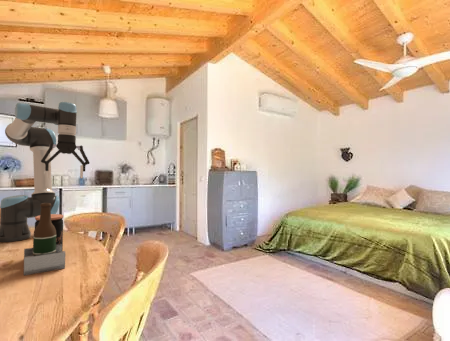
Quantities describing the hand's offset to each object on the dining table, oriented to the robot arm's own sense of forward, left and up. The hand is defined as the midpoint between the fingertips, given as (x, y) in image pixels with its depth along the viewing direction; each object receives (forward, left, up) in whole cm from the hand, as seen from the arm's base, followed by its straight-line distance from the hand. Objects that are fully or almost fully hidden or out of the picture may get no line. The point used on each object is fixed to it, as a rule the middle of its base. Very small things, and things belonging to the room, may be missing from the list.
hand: (65, 178), depth 128 cm
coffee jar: (+8, -7, -35) cm, 36 cm away
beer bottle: (+21, -9, -33) cm, 41 cm away
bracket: (+22, -9, -35) cm, 42 cm away
